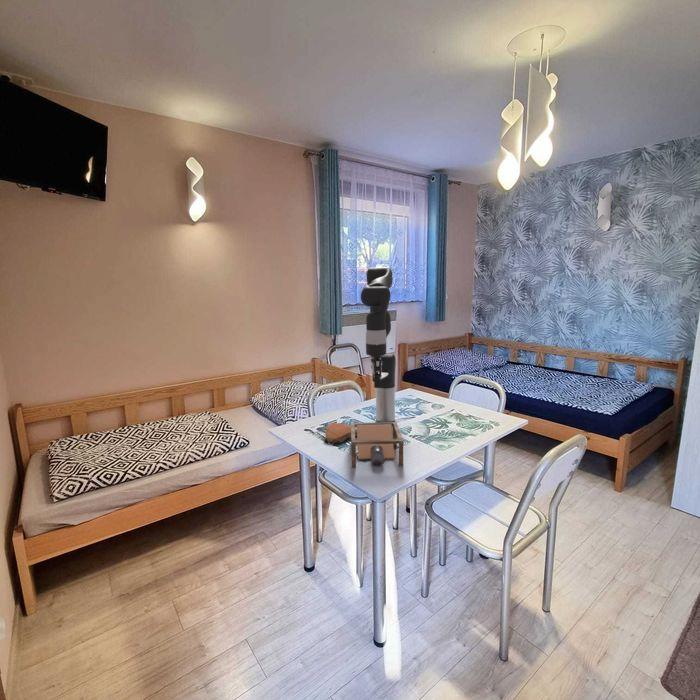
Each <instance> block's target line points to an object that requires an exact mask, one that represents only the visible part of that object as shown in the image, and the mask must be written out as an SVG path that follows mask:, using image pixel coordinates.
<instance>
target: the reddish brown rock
mask: <svg viewBox="0 0 700 700" xmlns="http://www.w3.org/2000/svg"><path fill="white" fill-rule="evenodd" d="M324 434H325V435H324V436H325V439H326V440H327V441H328V442H329V443H333V442H337V443H338V442H339V443H341V442H342V443H344V442H345V441H346V440H348V439H351V425H348V424H345V423H340V422H339V423H338V422H333V423H330V424H329V425H328V426H327V428H326V429H325V433H324ZM355 436H357V428H355Z"/></svg>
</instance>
